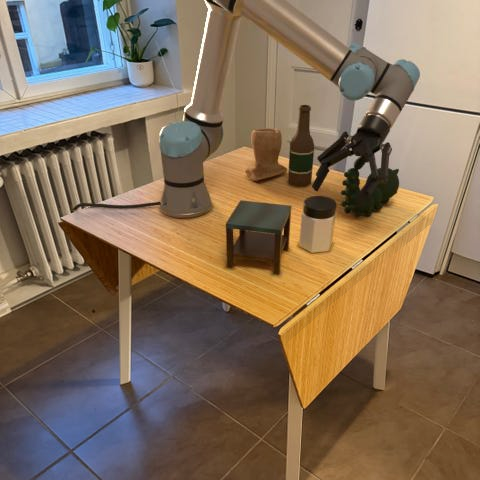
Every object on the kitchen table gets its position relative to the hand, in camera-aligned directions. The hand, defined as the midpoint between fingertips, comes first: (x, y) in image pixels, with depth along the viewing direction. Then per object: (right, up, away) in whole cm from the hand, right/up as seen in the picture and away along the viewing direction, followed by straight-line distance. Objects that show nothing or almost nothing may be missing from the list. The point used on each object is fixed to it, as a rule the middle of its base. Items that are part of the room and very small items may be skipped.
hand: (335, 196), depth 120 cm
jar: (-4, -12, +4) cm, 13 cm away
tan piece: (-16, +18, +42) cm, 49 cm away
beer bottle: (-5, +14, +36) cm, 39 cm away
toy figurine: (+14, +1, +20) cm, 24 cm away
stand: (-20, -16, -1) cm, 25 cm away
